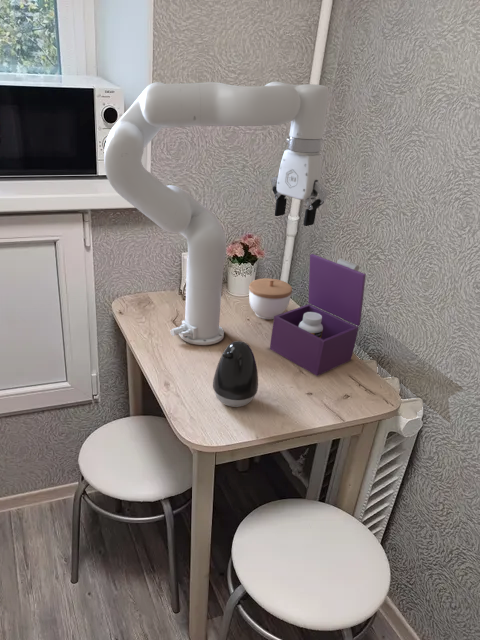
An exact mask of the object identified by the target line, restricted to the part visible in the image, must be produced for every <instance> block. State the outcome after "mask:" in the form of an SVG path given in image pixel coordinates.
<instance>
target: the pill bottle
mask: <svg viewBox="0 0 480 640" xmlns="http://www.w3.org/2000/svg"><path fill="white" fill-rule="evenodd" d="M321 321H322V316H321V315H320V314H318V313H315V312H306V313H304V315H303V321H301V322H300V323H299V326H298V327H300V328H302V329H304V330H306V331H307V332H309V333H311V334H313V335H315V336H317V337H319V338H321V336H322V331H323V326H322V324H321Z"/></svg>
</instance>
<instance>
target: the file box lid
mask: <svg viewBox="0 0 480 640" xmlns="http://www.w3.org/2000/svg"><path fill="white" fill-rule="evenodd" d="M359 270H360V265H359V264H356V263H354V262H351V261H348V260H346V259H343V258H338V259H337V261H332V260H329V259H327V258H324V257H321V256H319V255H316V254H314V253H310V254H309V271H308V272H309V273H308V275H309V276H308V302H307V303H308V304H310V305H312V306H314V307H316V308H319V309H321V310H323V311H325V312H327V313H329V314H331V315H334V316H336V317H338V318H340V319H342V320H344V321H347V322H349V323H351V324H353V325H355V326H357V327H360V325H361V322H362V321H361V320H362V314H363V313H362V312H363V303H364V294H365V286H366V276H367V274H366V273H364V272H362V271H359Z"/></svg>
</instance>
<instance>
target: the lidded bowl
mask: <svg viewBox="0 0 480 640" xmlns="http://www.w3.org/2000/svg"><path fill="white" fill-rule="evenodd" d="M292 292H293V287H292V286H291V285H290V284H289V283H288V282H286V281H284V280H282V279H281V280H280V279H276V278H268V277H267V278H266V277H265V278H257V279H255V280H252V281H251V282H250V283H249V285H248V302H249V306H250V308H251V310H252V311H253V312H254V314H255V316H256V317H257V318H259V319H263V320H274V316H277V315H279V314H282V313H285V312H286V311H287V309H288V307H289V305H290V302H291V298H292V294H293V293H292Z"/></svg>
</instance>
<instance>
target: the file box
mask: <svg viewBox="0 0 480 640" xmlns="http://www.w3.org/2000/svg"><path fill="white" fill-rule="evenodd" d="M306 312H315V313H318V314H320V315H321V316H322V321H321V324H322V326H323V331H322V336H321V338H319V337H317V336H315V335H313V334H311V333H309V332H307V331H306V330H304V329H302V328H300V327H298V326H299V323H300V322H301V321H303V315H304V313H306ZM359 327H360V326H357V325H355V324H353V323H351V322H348V321H346V320H344V319H342V318H340V317H338V316H336V315H333V314H331V313H329V312H327V311H325V310H323V309H320V308H318V307H316V306H314V305H312V304H310V303H308V304H305V305H302V306H300V307H297V308H294V309H292V310H288V311H284V312H283V313H282V314H279V315H277V316H274V319H273V323H272V329H271V338H270V344H269V350H271V351H272V352H274V353H276V354H277V355H279V356H282V357H283V358H285V359H286V360H288V361H290V362H291V363H294V364H295V365H296V366H299V367H301V368H302V369H304V370H306V371H307V372H309V373H311V374H313V375H315V376H316V377H318V376H320V375H323V374H325V373H327V372H329V371H331V370H334V369H336V368H338V367H340V366H342V365H344V364H347V363H348V362H350V361H352V359H353V354H354V350H355V349H354V348H355V345H356V341H357V336H358V332H359Z"/></svg>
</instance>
